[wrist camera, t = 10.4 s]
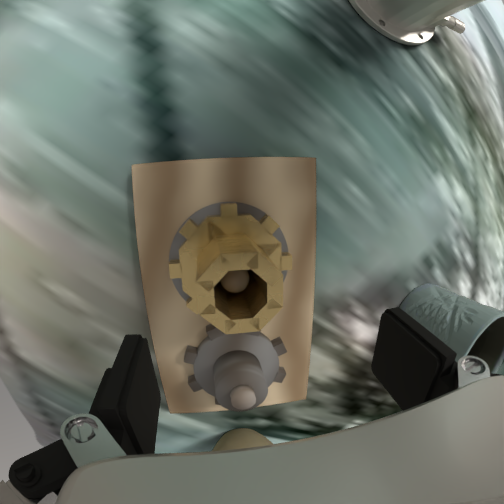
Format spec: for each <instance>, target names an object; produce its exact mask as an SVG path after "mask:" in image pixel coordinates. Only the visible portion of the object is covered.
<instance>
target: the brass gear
mask: <svg viewBox="0 0 504 504" xmlns="http://www.w3.org/2000/svg"><path fill="white" fill-rule="evenodd" d="M220 214H221V215H208V216H206V217H205V219H204V220H203V221H202V222H201V223H200V224H199V225H197V224H196V223H195V222H194V221H193V220H191V219H190V218H189V220H188V221H187V222H186V223H185V224H184V225H183V226H182V228H181V229H180V230H179V233H180V234H181V235H183V236H184V237H185V238H186V240H185V241H184V242H183V243H182V245H181V246H180V248H179V259H177V260H170V262H169V273H170V279H175V278H181V279H182V288H183V291H184V292H185V293H186V294H188V295H189V296H190V297H189V298H188V299H187V301H186V307H187V308H189V309H190V310H191V311H193V312H194V313H195V314H197V315H198V314H199V315H200V316H202V317H203V318H204V319H206V320H207V321H208V322H210V323H211V324H212V325H214V326H215V327H216V328H218V329H219V330H220V331H222V332H223V333H225V334H236V333H247V332H257V331H260V330H261V329H262V328H263V327H264V326H265V325H266V324H267V323H268V322H269V321H270V320H271V319H272V318H273V317H274V316H275V315H276V314H277V313H278V312H279V311H280V310H281V309H282V308H283V274H282V271H284V270H292V255H291V254H290V253H289V252H282V251H281V242H279V241H278V240H277V239H276V238H275V237H274V236H273V235H272V234H273V233H274V232H275V231H276V230H277V229H278V228H279V227H280V226H279V225H278V224H277V223H276V222H275V221H274V220H273V219H272V218H271V217H270V216H269V215H267V214H265V215H264V216H263V218H262V219H261V220H260V221H259V222H258V221H257V220H256V219H255V218H254V217H253V216H252V215H250V214H249V213H244V214H237V204H236V203H220ZM248 269H250V270H249V271H248V275H249V282H248V285H247V286H246V288H245V289H244V290H242V291H240V292H236V293H233V292H229V291H227V290H226V289H225V288H224V287H223V286H222V284H221V279H222V278H223V276H224V275H225V274H226V273H227V272H228V271H234V270H248Z"/></svg>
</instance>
